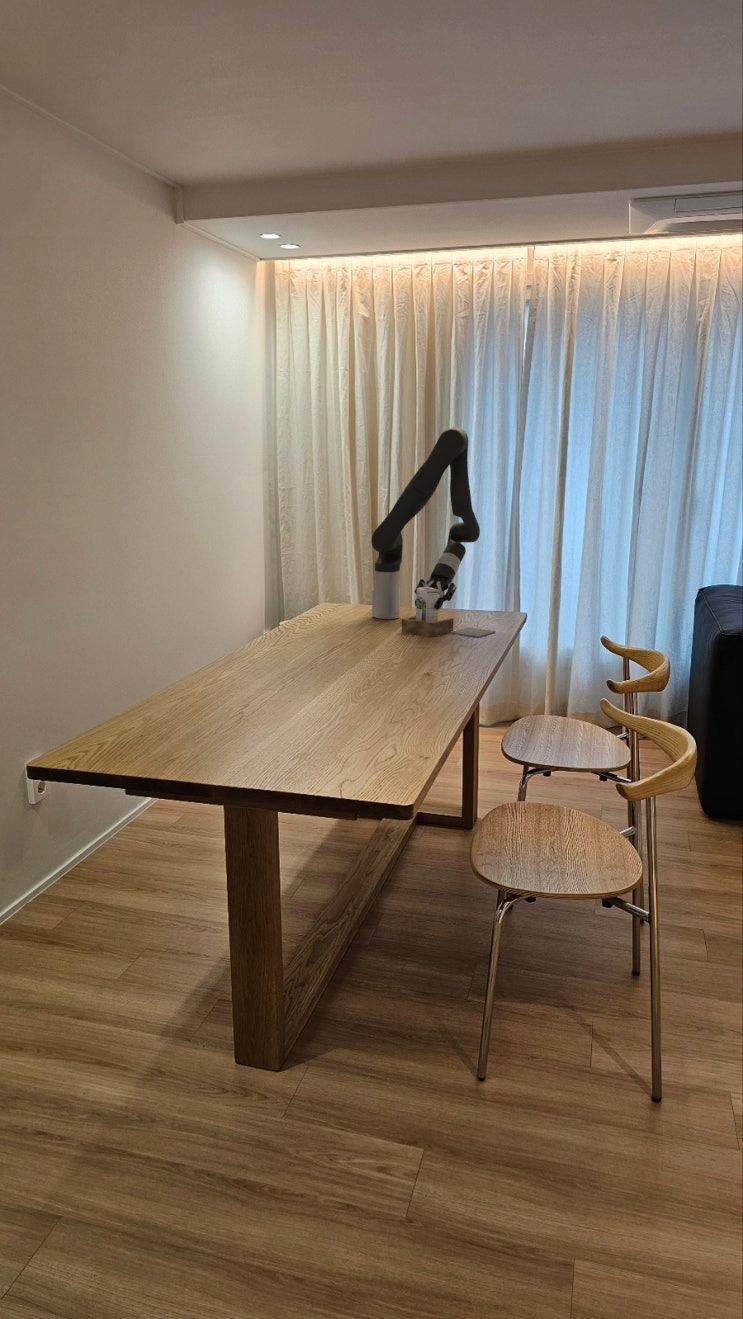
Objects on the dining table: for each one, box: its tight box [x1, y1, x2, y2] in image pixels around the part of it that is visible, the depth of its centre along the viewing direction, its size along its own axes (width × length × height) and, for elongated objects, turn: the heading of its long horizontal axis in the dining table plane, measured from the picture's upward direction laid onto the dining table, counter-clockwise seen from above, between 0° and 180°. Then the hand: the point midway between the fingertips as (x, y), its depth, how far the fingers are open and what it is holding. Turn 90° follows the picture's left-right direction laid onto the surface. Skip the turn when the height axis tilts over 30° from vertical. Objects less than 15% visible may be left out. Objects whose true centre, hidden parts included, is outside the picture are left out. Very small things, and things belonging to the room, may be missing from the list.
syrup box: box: [415, 587, 439, 623], centre depth 312 cm, size 6×6×14 cm
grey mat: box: [450, 626, 497, 639], centre depth 312 cm, size 11×11×1 cm
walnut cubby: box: [401, 615, 454, 638], centre depth 314 cm, size 13×12×4 cm
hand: (426, 607), depth 312 cm, fingers closed on syrup box, 7 cm apart
